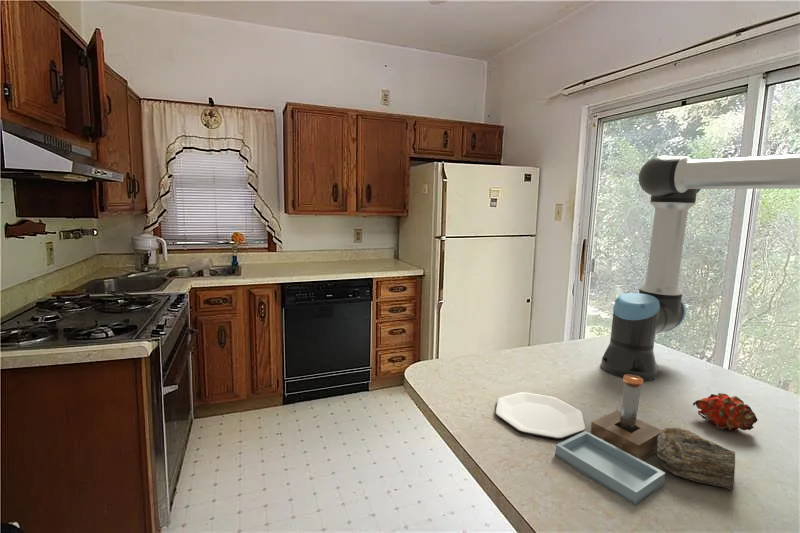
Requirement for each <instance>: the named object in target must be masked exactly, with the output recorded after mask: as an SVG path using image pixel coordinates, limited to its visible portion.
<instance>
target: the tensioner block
mask: <svg viewBox="0 0 800 533" xmlns="http://www.w3.org/2000/svg"><path fill="white" fill-rule="evenodd" d="M620 414H621V410H614V411H612V412H610V413H608V414H605V415H603V416H601V417H599V418H597V419H594V420H593V421H591V425H590V432H589V433H591V434H593V435H594V436H596V437H598V438H600V439H602V440H604V441H606V442H608V443H610V444H612V445H613V446H615V447H617V448H619V449H621V450H623V451H625V452H627V453H629V454H631V455H633V456H634V457H636V458H638V459H640V460H642V461H644V460H645V459H646V458H648V457H650V456H651V455H653V454H655V453H657V438H658V436H659V434H660V433H661V430H662V429H660V428H658V427H656V426H654V425H652V424H650V423H647V422H645V421H642V420H640V419H638V418H637V419H636V426H635V431H634V432H633V433H630V432H628V431H626V430H624V429H622V428H620V427H619V422H620Z"/></svg>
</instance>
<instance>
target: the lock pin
mask: <svg viewBox="0 0 800 533" xmlns="http://www.w3.org/2000/svg"><path fill="white" fill-rule="evenodd" d="M622 381H623V383H624V384H623V390H622V391H623V393H622V399H621V400H622V401H621V407H620V412H621V414H620V422H619V427H620V428H622V429H624V430H626V431H628V432H630V433H633V432H634V431H635V426H636V419H638V410H639V403H640V402H639V401H640V395H641V388H642V386H643V384H644V381H643V379H642V378H641V377H639V376H636V375H632V374H625V375H624V377H623V378H622Z"/></svg>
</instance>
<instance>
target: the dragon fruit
mask: <svg viewBox="0 0 800 533" xmlns="http://www.w3.org/2000/svg"><path fill="white" fill-rule="evenodd" d="M692 406H696V408H697V409H699V410H698V411H697V414H698V415H699V416H700V417H701V418H702V419H704V420H706V421H710V422H711V424H714V425H716V428H717V429H718V430H725V429H729V431H730V432H738V431H739V429H740V430H741V431H750V430H752V429H754V426H753V425H754V424H756V423H757V422H758V421H759V420H758V418H757V416H756V414H755V412H754V411H753V409H752V408H751V406H749V404H746V403H745V402H744V401H743V400H742V399H741V398H739V397H738V396H736V395H733V396H732V397H731V396H730V395H728V394H726V393H722V392H718V394H714V393H712V394H710V395H709V396H708V397H703V398H700V399H698V400H696V401H694V402H693V403H692Z"/></svg>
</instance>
